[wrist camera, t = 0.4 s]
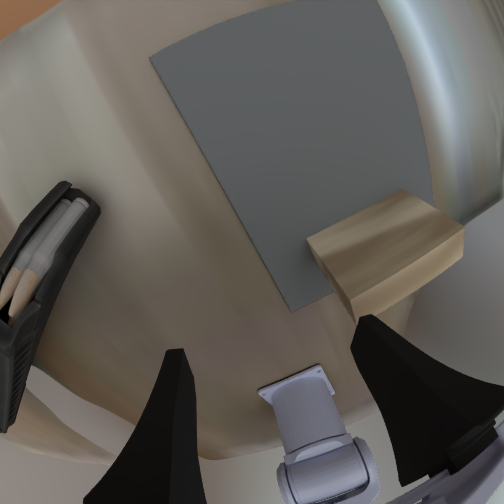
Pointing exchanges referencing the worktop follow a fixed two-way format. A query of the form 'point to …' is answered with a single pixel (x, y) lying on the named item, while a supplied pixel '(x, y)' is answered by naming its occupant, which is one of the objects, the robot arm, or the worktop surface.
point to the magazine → (36, 283)
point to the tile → (386, 252)
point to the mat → (300, 123)
